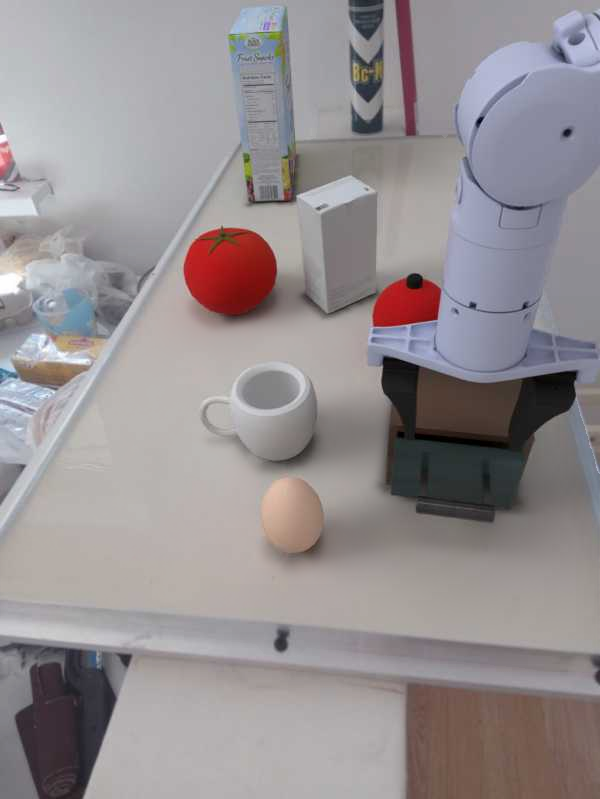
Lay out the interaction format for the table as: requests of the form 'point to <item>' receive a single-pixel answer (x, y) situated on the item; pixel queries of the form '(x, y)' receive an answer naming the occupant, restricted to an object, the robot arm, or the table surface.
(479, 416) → the cabinet
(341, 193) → the cosmetic box
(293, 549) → the egg
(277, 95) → the snack box
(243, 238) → the tomato
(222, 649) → the table surface
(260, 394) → the mug
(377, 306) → the ornament
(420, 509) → the drawer
